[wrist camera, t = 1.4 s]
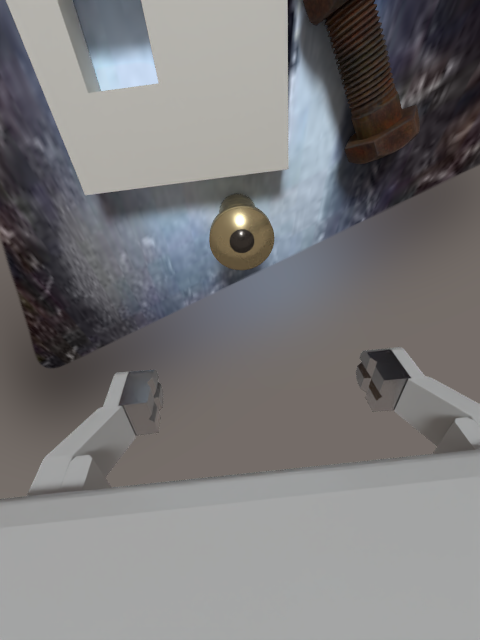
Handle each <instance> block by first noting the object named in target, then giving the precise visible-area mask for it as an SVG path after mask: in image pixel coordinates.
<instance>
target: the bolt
mask: <svg viewBox="0 0 480 640" xmlns="http://www.w3.org/2000/svg"><path fill="white" fill-rule="evenodd" d="M374 1H375V0H303V2H304V5H305V9H306V12H307V15H308V18H309V21H310V22H311V23H312V24H314V25H318V24H319V23H320V22H322V21H323V20H326V23H325V25H327V26H328V28H327V30H326V31H330V33H329V35H328V37H332V38H331V40H330V42H332V43H333V45H332V48H335V50H334V52H333V54H336V57H335V59H338V61H337V63H336V64H340V65H339V67H338V69H339V70H341V71H340V73H339V74H340V75H342V77H341V80H344V81H343V83H342V84H343V85H345V87H344V90H346V92H345V94H348V96H347V99H350V100H349V101H348V104H351V105H350V106H349V108H350V109H351V114H352V117H351V119H352V122H353V126H354V129H355V132H356V133H355V134H354V135H352V136H351V137H350V139H349V141H348V143H347V145H346V147H345V152H346V155H347V158H348V161H349V162H351V163H355V164H365V163H368V162H371V161H374V160H377V159H380V158H382V157H385V156H387V155H389V154H392V153H394V152H396V151H398V150H399V149H401V148H402V147H403V146H405V145H406V144H407V143H409V142H410V141H411V140H412V139H413V138H414V137H415V136H416V135H417V134H418V133H419V126H420V125H419V116H418V110H417V105H414V106H411V107H407V108H404V109H402V108H401V104H400V100H399V95H398V92H397V91H396V89H395V84H394V83H392V82H393V80H394V79H393V78H391V77H392V73H390V71H391V68H388V67H389V66H390V63H389V62H388V60H389V57H388V56H387V54H388V51H385V50H386V48H387V46H386V45H384V44H385V42H386V41H385V40H382V39H383V37H384V35H382V34H381V32H382V31H383V29H381V28H380V26H381V24H382V23H379V22H378V21H379V19H380V17H378V16H377V14H378V12H379V11H377V10H375V9H376V7H377V4H373V3H374Z"/></svg>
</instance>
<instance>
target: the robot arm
mask: <svg viewBox="0 0 480 640" xmlns="http://www.w3.org/2000/svg"><path fill="white" fill-rule="evenodd" d="M360 359H361V361H362V362H361V363H360V364H359V365H358V366H357V370H356V375H357V376H356V377H357V381H358V384H359V386H360V388H361V389H362V390H363V391H365V392H366V393H367V394H366V397H365V398H366V400H367V402H368V404H369V406H370V408H371V410H372V412H376V411H391V410H394V412H395V413H397V414H398V415H399V416H400V417H402V418H403V419H404V420H405V421H407V422H408V423H409V424H410V425H412V426H413V427H414V428H415V429H416V430H418V431H419V432H420V433H421V434H423V435H424V436H425V437H426V438H427V439H429V440H430V441H431V442H432V443H434V444H435V445H436V446H437V448H436V450H435V451H434V452H433V454H428V455H420V456H410V457H400V458H390V459H380V460H371V461H362V462H352V463H343V464H333V465H323V466H314V467H304V468H294V469H285V470H275V471H266V472H256V473H247V474H237V475H228V476H218V477H208V478H200V479H189V480H179V481H170V482H161V483H150V484H141V485H131V486H123V487H113V488H112V487H111V486H110V484H109V483H108V481H107V480H106V476H107V475H108V473H109V472H110V471H111V470H112V468H113V467H114V466H115V464H116V463H117V462H118V460H119V459H120V458H121V456H122V455H123V454H124V452H125V451H126V450H127V448H128V447H129V446H130V444H131V443H132V442H133V440H134V439H135V438H136V436H137V435H144V434H152V433H158V432H159V426H160V419H161V417H160V414H159V411H160V410H161V408H162V406H163V390H162V386H161V384H160V383H159V382H158V377H159V376H158V373H157V371H156V370H146V371H132V372H121V373H116V374H115V375H114V377H113V380H112V382H111V386H110V388H109V391H108V394H107V397H106V400H105V403H104V406H103V408H98V409H97V410H96V411H95V412H94V413H93V414H92V415H91V416H90V417H88V418H87V419H86V420H85V421H84V422H83V423H82V424H81V425H80V426H79V427H78V428H76V430H74V431H73V432H72V433H71V434H70V435H69V436H68V437H67V438H66V439H65V440H63V441H62V442H61V443H60V444H59V445H58V446H57V447H56V448H55V449H54V450H52V451H51V452H50V453H49V454H48V455H47V456H46V457H45V458H44V460H43V462H42V464H41V466H40V468H39V470H38V472H37V475H36V477H35V479H34V481H33V483H32V486H31V488H30V490H29V492H28V494H27V496H26V497H15V498H6V499H0V640H480V404H479V403H476V402H475V401H473V400H471V399H469V398H468V397H466V396H464V395H462V394H460V393H458V392H456V391H455V390H453V389H451V388H449V387H447V386H445V385H443V384H442V383H440V382H438V381H436V380H434V379H432V378H431V377H425V376H424V374H423V373H422V372H421V370H420V369H419V368H418V367H417V365H416V364H415V363H414V362H413V360H412V359H411V357H410V356H409V355H408V354H407V352H406V351H405V350H404V349H403V348H401V347H398V348H389V349H378V350H367V351H363V352H362V353H361V355H360Z"/></svg>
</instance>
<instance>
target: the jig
mask: <svg viewBox="0 0 480 640" xmlns="http://www.w3.org/2000/svg"><path fill="white" fill-rule="evenodd" d="M6 2H7V4H8V7H9V9H10V12H11V14H12V16H13V19H14V21H15V24H16V26H17V29H18V31H19V34H20V36H21V39H22V41H23V43H24V46H25V48H26V51H27V53H28V56H29V58H30V61H31V63H32V65H33V68H34V70H35V73H36V75H37V78H38V80H39V83H40V85H41V88H42V90H43V92H44V95H45V97H46V100H47V102H48V105H49V107H50V110H51V112H52V115H53V117H54V119H55V122H56V124H57V127H58V129H59V132H60V134H61V137H62V139H63V141H64V144H65V146H66V149H67V151H68V154H69V156H70V159H71V161H72V164H73V166H74V168H75V171H76V173H77V176H78V178H79V181H80V183H81V186H82V188H83V191H84V193H85V195H91V194H99V193H107V192H115V191H123V190H130V189H138V188H146V187H154V186H161V185H169V184H177V183H185V182H192V181H200V180H208V179H216V178H224V177H231V176H239V175H247V174H255V173H262V172H270V171H278V170H286V169H288V16H287V0H141V3H142V7H143V12H144V17H145V21H146V26H147V31H148V35H149V40H150V44H151V49H152V54H153V58H154V63H155V68H156V72H157V77H158V82H159V84H152V85H144V86H137V87H130V88H122V89H115V90H107V91H101V90H100V86H99V83H98V80H97V77H96V74H95V70H94V67H93V64H92V61H91V58H90V54H89V51H88V48H87V45H86V42H85V38H84V35H83V32H82V29H81V26H80V22H79V19H78V16H77V13H76V10H75V6H74V3H73V0H6Z"/></svg>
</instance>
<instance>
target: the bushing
mask: <svg viewBox="0 0 480 640" xmlns="http://www.w3.org/2000/svg"><path fill="white" fill-rule="evenodd" d="M209 241H210V248H211V251H212V253H213V255H214V256H215V258H216V259H217V260H218V261H219V262H220V263H221V264H222V265H224V266H226V267H228V268H231V269H235V270H247V269H251V268H254V267H256V266H258V265H260V264H261V263H262V262H263V261H265V260H266V258H267V257H268V256H269V254H270V253H271V251H272V248H273V244H274V232H273V229H272V226H271V224H270V221H269V219H268V218H267V216H266V215H265V214H264V213H263V212H262V211H261V210H259V209H258V208H256V207H255V205H254V203H253V201H252V200H251V199H250V198H249V197H247V196H246V195H243V194H232V195H230V196H228V197H227V198H225V199H224V200H223V202H222V203H221V206H220V210H219V214H218V215H217V216H216V218H215V219H214V221H213V223H212V225H211V229H210V240H209Z"/></svg>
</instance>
